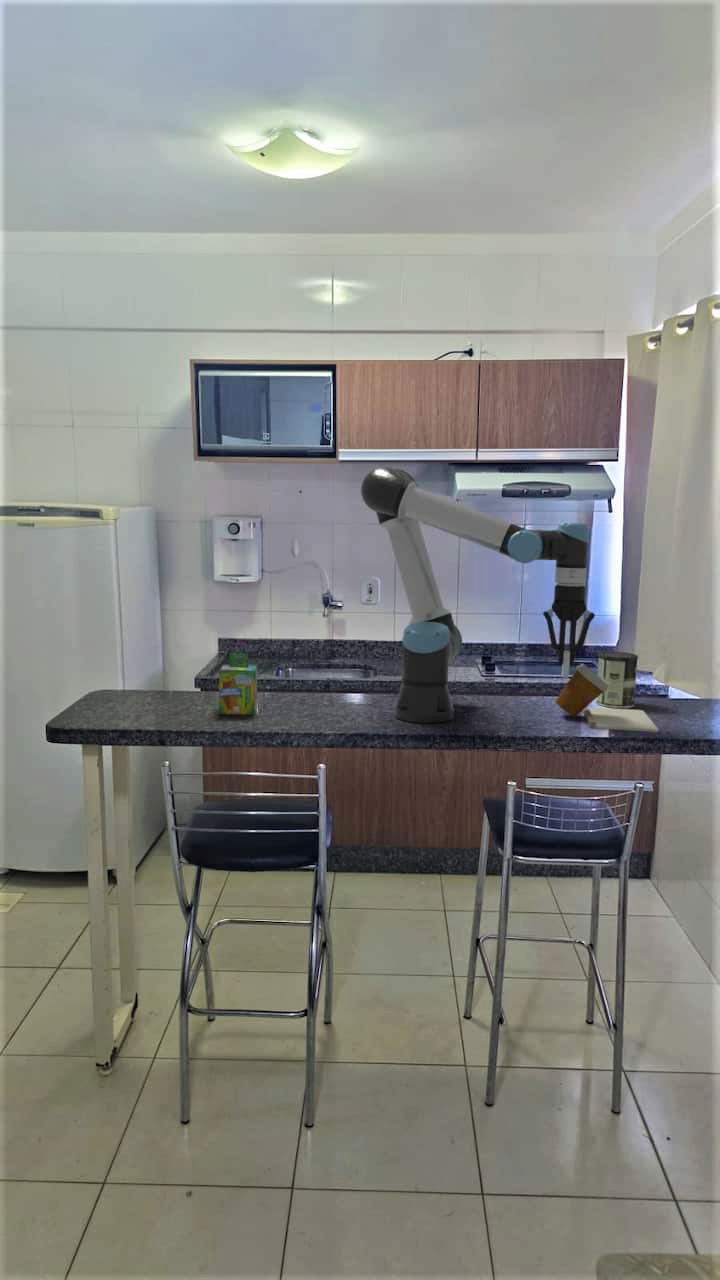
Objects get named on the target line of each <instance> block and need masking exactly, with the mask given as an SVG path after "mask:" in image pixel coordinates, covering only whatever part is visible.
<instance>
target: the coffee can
mask: <svg viewBox="0 0 720 1280" xmlns="http://www.w3.org/2000/svg"><path fill="white" fill-rule="evenodd" d="M638 658H639V655H637V654H635V653H633V652H632V653H631V652H623V651H601V652H599V653H598V666H597V667H598V668H597V670H598V671H597V675H598V676H599V677H601V678H602V679H603V680H604V681H605V682H606V683H607V684H609V686H608V688H607V691H605V692H603V693H601V694H600V695H599V696H598V697H597V698H596V699H595V704H596V705H598V706H601V707H602V708H611V709H631V708H635V696H636V695H635V694H636V693H635V692H636V680H637V679H636V678H637V667H638Z"/></svg>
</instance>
